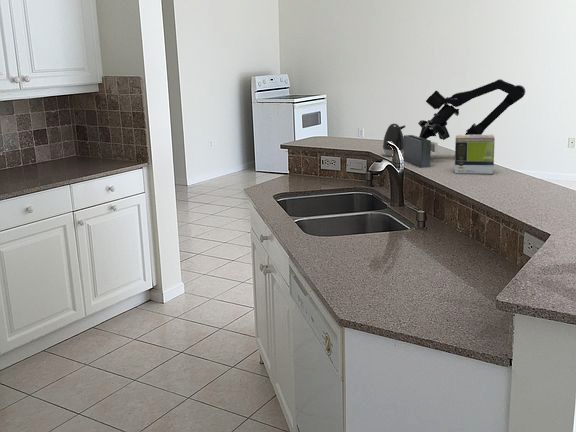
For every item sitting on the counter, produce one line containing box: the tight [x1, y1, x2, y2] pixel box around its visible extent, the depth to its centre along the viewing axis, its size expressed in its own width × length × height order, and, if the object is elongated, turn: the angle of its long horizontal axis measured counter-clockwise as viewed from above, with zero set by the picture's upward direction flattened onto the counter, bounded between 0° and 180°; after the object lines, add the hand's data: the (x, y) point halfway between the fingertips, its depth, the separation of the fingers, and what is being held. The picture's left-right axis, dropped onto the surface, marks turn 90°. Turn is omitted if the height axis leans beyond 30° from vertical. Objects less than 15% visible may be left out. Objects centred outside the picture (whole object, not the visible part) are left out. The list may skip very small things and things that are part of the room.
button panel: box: [402, 134, 432, 168], centre depth 279 cm, size 4×20×11 cm, turn 12°
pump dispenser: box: [382, 123, 406, 158], centre depth 300 cm, size 10×10×15 cm
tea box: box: [454, 134, 495, 175], centre depth 257 cm, size 15×10×15 cm
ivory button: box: [431, 141, 439, 153], centre depth 272 cm, size 5×4×4 cm
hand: (418, 142), depth 286 cm, fingers closed
